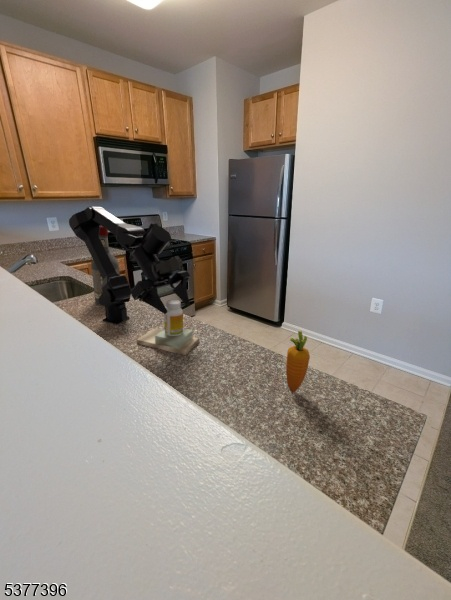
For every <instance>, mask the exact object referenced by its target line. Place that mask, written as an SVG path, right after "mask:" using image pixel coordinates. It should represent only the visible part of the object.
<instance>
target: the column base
mask: <svg viewBox="0 0 451 600" xmlns="http://www.w3.org/2000/svg"><path fill="white" fill-rule="evenodd" d="M193 332H194V331H193V329H188V328H184V327H183V333H182V334H181V335H179V336H168V335H166V334H165V328H164V329H160V328H157V327H155V328H153V329H151V330H149V331H148V332H146V333H144V334H143V335H141V336H140V337H139V338H137V339H136V344H138V345H141V346H147V347H150V348H154V349H159V350H162V351H166V352H169V353H170V352H172V353H175V354H178V355H179V354H180V355H183V356H186V355H187V354H188V353H189V352H190V351H191V350H193V348H194V347H196V345H198V343H200V337H195V336H194V335H193Z"/></svg>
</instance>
